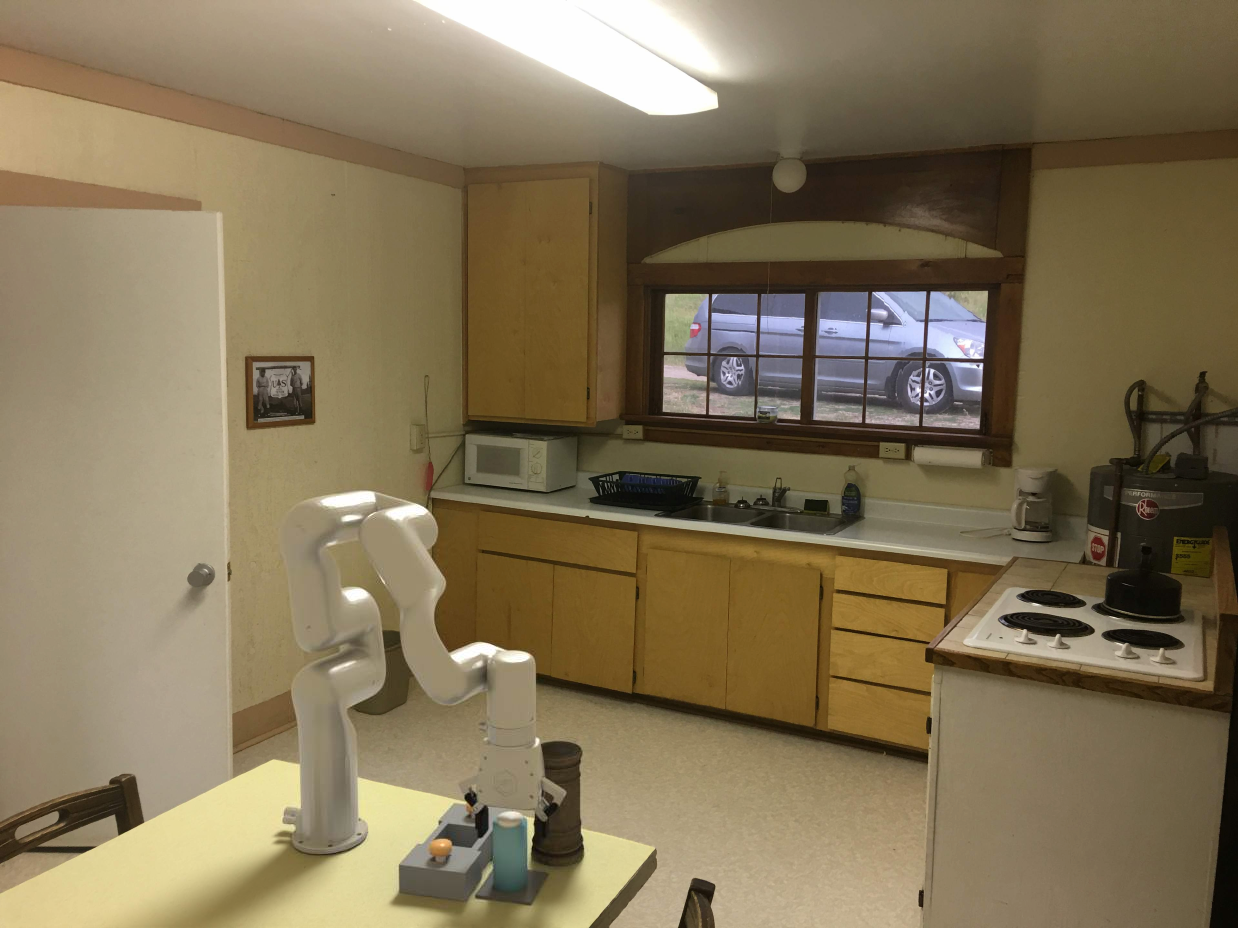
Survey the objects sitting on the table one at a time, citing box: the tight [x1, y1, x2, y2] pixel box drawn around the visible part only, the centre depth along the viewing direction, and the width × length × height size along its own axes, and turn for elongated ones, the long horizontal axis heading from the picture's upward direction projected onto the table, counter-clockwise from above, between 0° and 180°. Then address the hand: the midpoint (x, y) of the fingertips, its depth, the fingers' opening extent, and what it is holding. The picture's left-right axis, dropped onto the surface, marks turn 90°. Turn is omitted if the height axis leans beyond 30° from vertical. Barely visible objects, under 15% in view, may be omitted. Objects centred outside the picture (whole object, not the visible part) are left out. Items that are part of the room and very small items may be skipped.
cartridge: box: [492, 810, 528, 893], centre depth 147 cm, size 5×5×11 cm
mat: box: [474, 868, 549, 906], centre depth 147 cm, size 9×9×1 cm
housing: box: [398, 802, 514, 902], centre depth 154 cm, size 11×22×4 cm, turn 167°
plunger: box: [430, 839, 452, 863], centre depth 147 cm, size 3×3×6 cm
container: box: [530, 740, 585, 867], centre depth 157 cm, size 9×9×18 cm
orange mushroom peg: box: [465, 801, 475, 818], centre depth 161 cm, size 3×3×6 cm
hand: (512, 837), depth 147 cm, fingers open, 9 cm apart
